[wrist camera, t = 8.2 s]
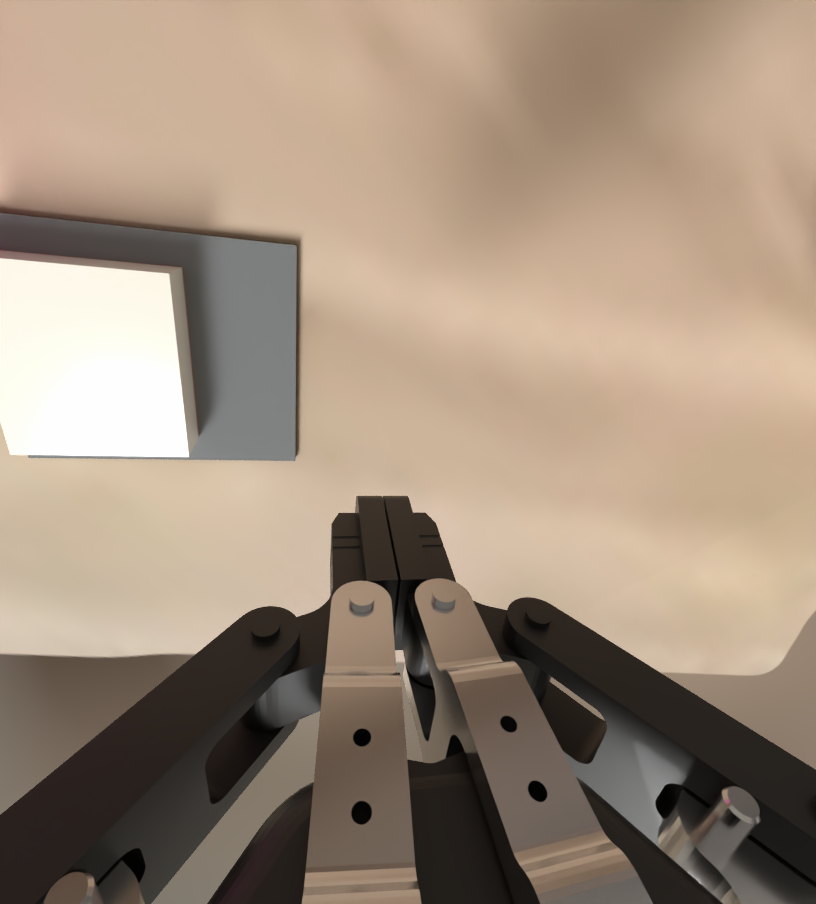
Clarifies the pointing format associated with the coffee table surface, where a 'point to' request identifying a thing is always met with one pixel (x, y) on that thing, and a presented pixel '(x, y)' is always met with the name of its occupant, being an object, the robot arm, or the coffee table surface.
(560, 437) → the coffee table surface
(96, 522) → the coffee table surface
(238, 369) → the mat
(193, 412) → the tile
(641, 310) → the coffee table surface
